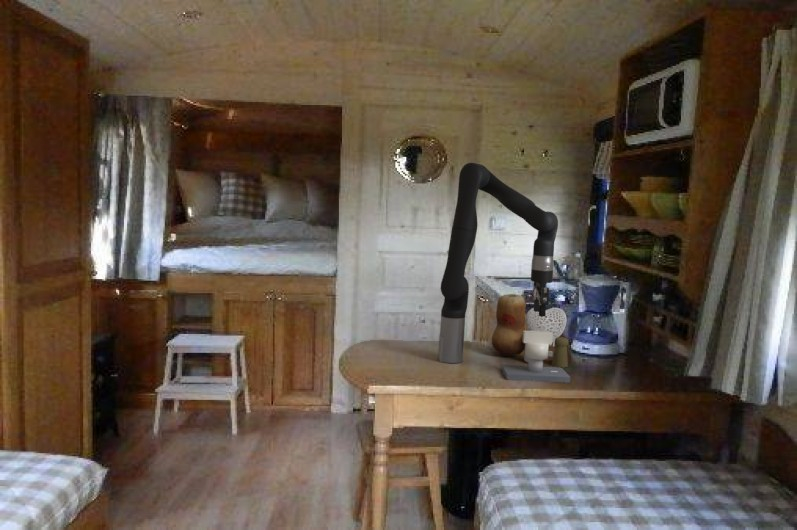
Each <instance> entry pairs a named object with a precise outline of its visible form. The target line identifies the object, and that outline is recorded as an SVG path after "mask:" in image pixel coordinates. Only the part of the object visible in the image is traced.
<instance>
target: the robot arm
mask: <svg viewBox="0 0 797 530" xmlns="http://www.w3.org/2000/svg"><path fill="white" fill-rule="evenodd" d="M479 190H480V191H482V192H484V193H487V195H489V196H492V197H493V198H495V199H496V200H497V201H499V203H500V204H501V205H503V206H504V207H505V208H506V209H507V210H508V211H510V212H512V213H513V214H514V215H516V216H518V217H519V218H522V219H523V220H524V221H525V223H527V224H528V225H529V226H530V227H532V228H533V229H535V230H536V231H537V235H536V236H537V237H536V239H535V240H534V242H533V250H532V251H533V252H532V257H531V258H532V259H531V266H530V267H531V269H530V281H531V282H532V283H533V289H532V296H531V297H532V300H533V308H534V311H535V312H539V315H538V316H541V317H542V316H545V314H546V310H547V306H548V305H549V303H550V302H549V299H550V297H549V296H550V287H548V285H547V284H552V283H553V281H554V280H553V278H554V266H555V265H554V263H555V262H554V256H555V255H554V254H555V253H554V252H555V251H554V250H555V241H556V237H557V232H558V227H559V221H558V216H557V215H556V213H554V212H552V211H545V210H543V209H542V208H540V207H539V206H537V205H536V203H535V202H534V201H533V200H531V199H530V198H528V197H527V196H526V195H524V194H522V193H520V192H518V191H517V190H516V189H514V188H512V187H510V186H509V185H507V184H506V183H504V182H503V181H502V180H500V179H499V178H498V177H497V176H496V175H494V174H493V173H492V172H491V171H490V170H489V169H488V168H487V167H486V166H485V165H483V164H480V163H476V162H467V163H465V164H464V165H463V166H462V168H461V170H460V172H459V176H458V188H457V198H456V199H457V200H456V206H455V209H454V211H455V212H454V217H453V222H452V227H451V232H450V239H449V245H448V253H447V260H446V265H445V269H444V271H443V276H442V279H441V283H440V292H441V294H442V296H443V297H444V298H443V300H444V302H443V305H442V308H441V310H440V311H441V313H440V328H439V340H438V352H437V353H438V354H437V355H438V356H437V358H438V362H440V363H446V364H458V363H460V364H461V363H462V362H463V360H464V345H465V342H464V341H465V331H466V330H465V328H466V327H465V326H466V314H467V309H468V301H469V288H470V285H469V282H468V280H467V277H465V271H466V267H467V262H468V260H469V258H470V256H471V254H472V250H473V249H474V244H475V241H476V237H477V230H478V215H477V205H476V204H477V196H478V192H479ZM545 317H546V316H545Z"/></svg>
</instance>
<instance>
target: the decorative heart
mask: <svg viewBox="0 0 797 530" xmlns="http://www.w3.org/2000/svg"><path fill="white" fill-rule="evenodd" d="M567 321H568V320H567V314H566V313H565V311H564V310H563V309H562V308H559V307H552V308H551V307H550V308H548V309H546V314H545V316H539V312H535V311H534V307H532V308H530V309H529V310H528V311H527V313H526V314H525V327H526V329H527V330H526V331H544V332H552V333H553V339H552V344H549V347H550V346H551V347H555V339H556V338H557V337H561V335H562V334H563V333H564V331H565V329H566V326H567Z"/></svg>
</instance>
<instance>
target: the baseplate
mask: <svg viewBox="0 0 797 530" xmlns="http://www.w3.org/2000/svg"><path fill="white" fill-rule="evenodd" d="M527 364H528V365H519V364H518V365H516V364H501V372H502V371H503V372H502V374H503V373H504V374H503V375H504V377H505V379H506V378H507V379H509V380H508V381H523V380H535V381H534V382H544V381H548V383H564V382H565V384H567V383H569V384H570V383H571V376H570V375H569V374H568V373H567V372H566V371H565V370H564V368H560V367H554V366H544V360H537V359H531V358H529V363H527ZM507 379H506V380H507Z"/></svg>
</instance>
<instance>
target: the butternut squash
mask: <svg viewBox="0 0 797 530" xmlns="http://www.w3.org/2000/svg"><path fill="white" fill-rule="evenodd" d="M526 305H527V304H526V300H525V298H524V297H523V296H522V295H520V294H515V293H508V294H503V295H502V296H500V297H499V298H498V300H497V305H496V312H495V316H496V317H495V318H496V327H495V329H494V330H493V333H492V336H491V344H492V347H493V349H494V351H496V352H498V353H499V354H501V355H502V356H503V357H513V356H516V355H520V354H522V353H523V352H525V343H523V331H526V329H525V327H526V309H527V306H526Z"/></svg>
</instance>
